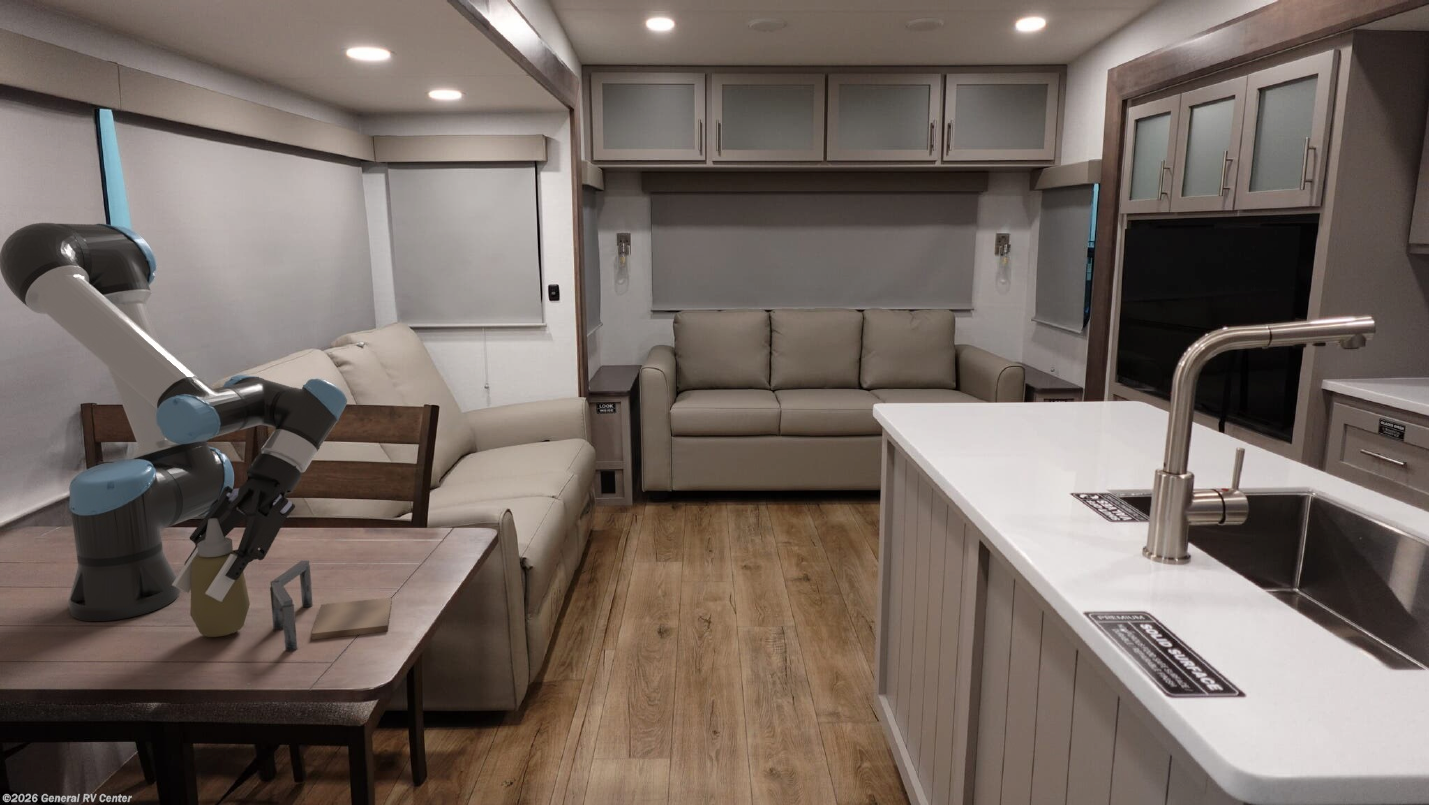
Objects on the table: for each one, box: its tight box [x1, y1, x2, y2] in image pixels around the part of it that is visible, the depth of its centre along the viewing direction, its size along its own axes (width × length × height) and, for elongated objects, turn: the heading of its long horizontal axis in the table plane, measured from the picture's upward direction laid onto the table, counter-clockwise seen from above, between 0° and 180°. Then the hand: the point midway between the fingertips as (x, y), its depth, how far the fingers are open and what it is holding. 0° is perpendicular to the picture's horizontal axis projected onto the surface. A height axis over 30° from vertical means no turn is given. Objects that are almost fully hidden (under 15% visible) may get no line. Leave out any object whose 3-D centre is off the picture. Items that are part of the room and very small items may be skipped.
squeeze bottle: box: [189, 518, 251, 638], centre depth 129 cm, size 8×8×18 cm
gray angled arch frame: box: [269, 560, 314, 653], centre depth 133 cm, size 5×18×8 cm, turn 18°
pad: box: [311, 597, 393, 641], centre depth 136 cm, size 11×11×1 cm
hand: (196, 593), depth 126 cm, fingers closed on squeeze bottle, 6 cm apart
